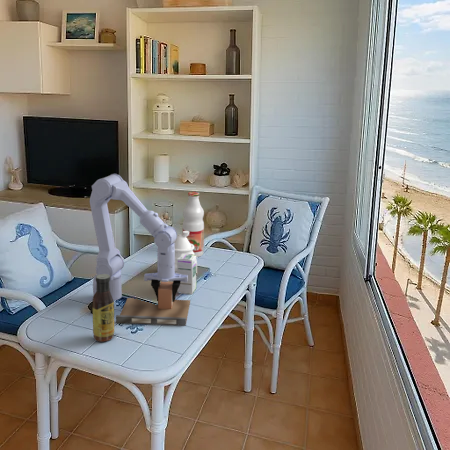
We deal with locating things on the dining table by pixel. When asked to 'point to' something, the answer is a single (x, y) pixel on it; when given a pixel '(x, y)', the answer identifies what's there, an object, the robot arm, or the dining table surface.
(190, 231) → the fruit juice
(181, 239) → the honey pot
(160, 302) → the tea tin
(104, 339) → the sauce bottle
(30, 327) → the dining table surface
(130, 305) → the brown wooden pallet
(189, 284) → the syrup box
